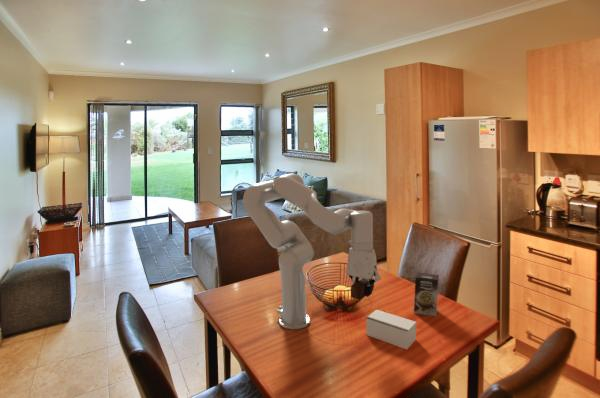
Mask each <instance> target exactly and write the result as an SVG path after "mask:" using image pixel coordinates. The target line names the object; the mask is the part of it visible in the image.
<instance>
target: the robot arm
mask: <svg viewBox="0 0 600 398" xmlns="http://www.w3.org/2000/svg"><path fill="white" fill-rule="evenodd" d="M242 196H243V198H242V204H243V207H244V210H245V212H246V213H247V215H248V216H249V217H250V219H251V220H252V221H253V222H254V224H255V225H256V227H258V229H259V231H260V232H261V234H262V235H263V237H264V239H265V240H266V241H267V243H268V244H269V245H270V246H271V248H274V249H281V248H283V247H284V246H287V247H286V248H285V249H283V250H282V251H281V253H280V255H279V256H278V266H279V272H280V280H281V301H282V302H281V305H278V306H277V309H276V313H277V314H280V317H279V318H278V324H279V325H280V326H281V327H282V328H284V329H288V330H300V329H304V328H306V327H308V325H310V322H311V319H310V316H309V315H308V314H307V303H306V302H307V301H306V296H307V295H306V290H307V289H306V276H305V273H304V270H303V269H304V267H305V266H306V265H307V264H309V263H310V262H311V261H312V260H313V258H314V248H313V245H312V244H311V242H310V241H309V240H308V239H307V237H306V235H305V234H304V233H303V232H302V230H301V228H300V227H299V226H298V224H296V223H295V222H294V221H292V220H289V219H288V220H287V219H286V220H280V219H279V218H278V217H277V216H276V214H275V213H274V211H273V210H272V209H270V208H269V207H268V206H266V203H270V202H273V201H275V200H279V199H284V200H285V201H287V202H289V203H290V204H292V205H294V206H295V207H297V208H299V209H300V210H302V211H303V212H304V213H305V216H307V218H308V219H309V220H310V221H311V222H312V223H313V224H314V225H315V226H317V227H319V228H321V230H324V231H325V232H327V233H330V234H333V235H338V234H341V233H343V232H345V231H346V230H350V229H351V235H350V237H351V239H349V240H348V244H349V245H351V247H349V250H348V255H347V263H346V264H347V265H346V269H345V271H344V272H345V274H346V275H347V276H348V277H349V278H350V279H351V282H352V283H353V284H354V283H356V282H358V281H359V280H360V279H366V283H367V286H366V287H365V288H366V296H365V297H367V298H368V297H369V296H371V295H372V294H373V291H372V284H373V283H374V284H375V283H377V282H379V281H380V280H381V279H382V278H381V275H380V274H379V272H378V262H377V255H376V251H375V249H374V237H373V236H374V233H373V232H374V228H373V225H374V221H373V220H374V219H373V216H374V215H373V213H372V212H371V211H369V210H354V209H350V208H347V207H346V208H339V209H337V210H335V211H332V210H330V209H328V208H327V207H326V206H324V205H323V204H322V203H321V202H319V200H318V196H317V192H316V191H315V190H314V189H312V188H310V187H308V186H307V185H305V184H304V180H303V178H302V177H301V176H300V175H299V174H297V173H288V174H282V175H280V176H278V177H277V178H274V179H271V180H266V181H262V182H256V183H253V184H252V185H250V186H248V187H247V188H246V190H245V191H244V193H243V195H242Z"/></svg>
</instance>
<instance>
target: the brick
mask: <svg viewBox="0 0 600 398" xmlns="http://www.w3.org/2000/svg"><path fill="white" fill-rule="evenodd" d="M366 286H367V283H366V279H363V278H360V279H359V281H358V282H356V283H353V284H352V285H350V298H352V299H355V300H358V301H359V300H361V299H363V298H364V297H366V288H365V287H366ZM374 287H375V283H373V284H372V292H373V291H374Z"/></svg>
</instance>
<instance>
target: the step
mask: <svg viewBox="0 0 600 398" xmlns="http://www.w3.org/2000/svg"><path fill="white" fill-rule="evenodd" d="M365 328H366V330H365V331H366V333H365V334H366V336H369V337H371V338H374V339H377V340H379V341H383V342H385V343H388V344H391V345H393V346H395V347H399V348H402V349H404V350H408V349H409V348H410V347H411V346H412V345H413V343H414V342H415V341H417V321H414V320H411V319H408V318H406V317H402V316H399V315H396V314H392V313H388V312H386V311H382V310H379V309H375V310H374V311H372V312H371V313H370V314H369V315H367V316H366V327H365Z"/></svg>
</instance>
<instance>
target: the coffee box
mask: <svg viewBox="0 0 600 398" xmlns="http://www.w3.org/2000/svg"><path fill="white" fill-rule="evenodd" d="M414 285H415V286H414V303H413V304H414V305H413V313H414V314H416V315H417V314H418V315H423V316H430V317H437V312H438V311H437V310H438V296H439V295H438V294H439V274H432V273H424V272H416V274H415V280H414Z"/></svg>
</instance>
